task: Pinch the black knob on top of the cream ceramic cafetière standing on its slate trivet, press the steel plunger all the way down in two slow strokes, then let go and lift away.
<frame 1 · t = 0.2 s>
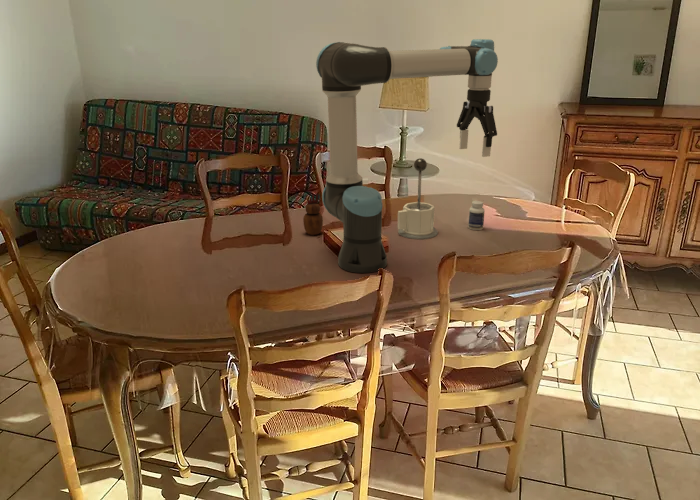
hand: (474, 152, 203), 28 cm above the table, fingers open, 13 cm apart
white faceted cup: (417, 232, 210), on the table
wooden figurine: (313, 234, 210), on the table
plunger: (419, 184, 204), point 17 cm above the table, slide at 0.0 cm
pill bottle: (475, 228, 214), on the table
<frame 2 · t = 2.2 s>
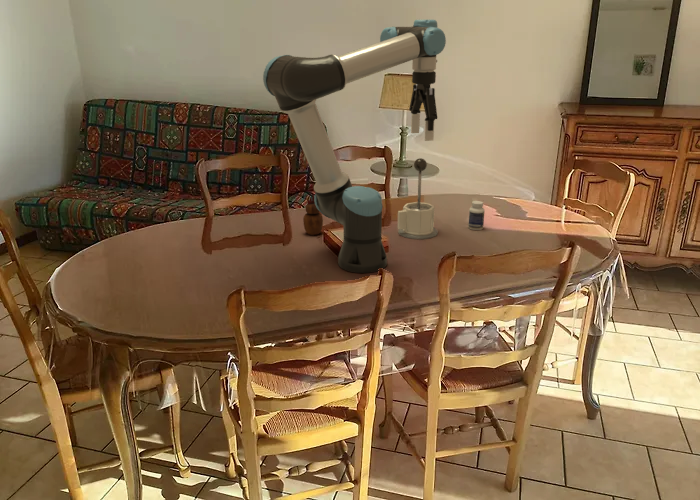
hand: (421, 136, 198), 34 cm above the table, fingers open, 13 cm apart
nothing on the table moved.
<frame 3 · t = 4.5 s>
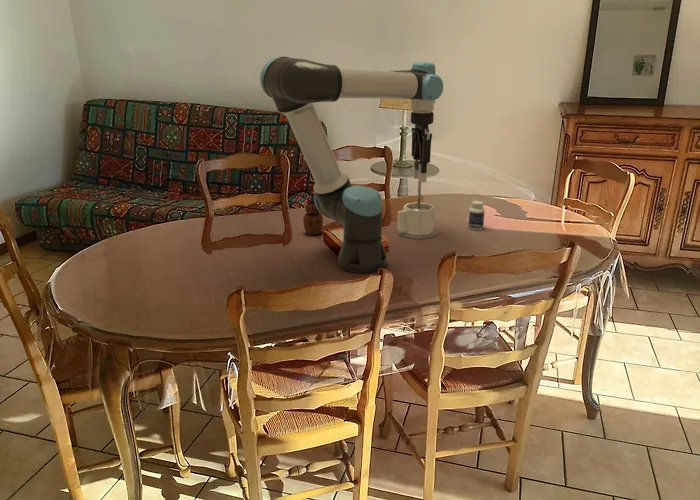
hand: (419, 180, 203), 19 cm above the table, fingers closed on plunger, 4 cm apart
plunger: (419, 184, 204), point 17 cm above the table, slide at 0.0 cm, touching gripper
everything else where it was.
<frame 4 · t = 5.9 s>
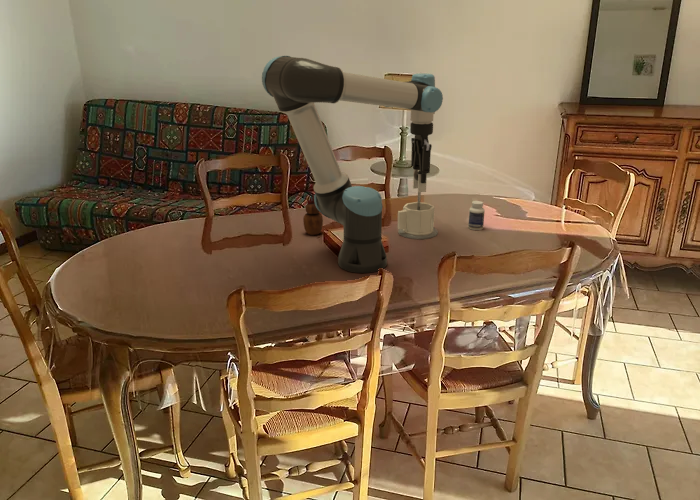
hand: (419, 189, 205), 16 cm above the table, fingers closed on plunger, 4 cm apart
plunger: (419, 194, 205), point 14 cm above the table, slide at 3.5 cm, touching gripper
everything else where it was.
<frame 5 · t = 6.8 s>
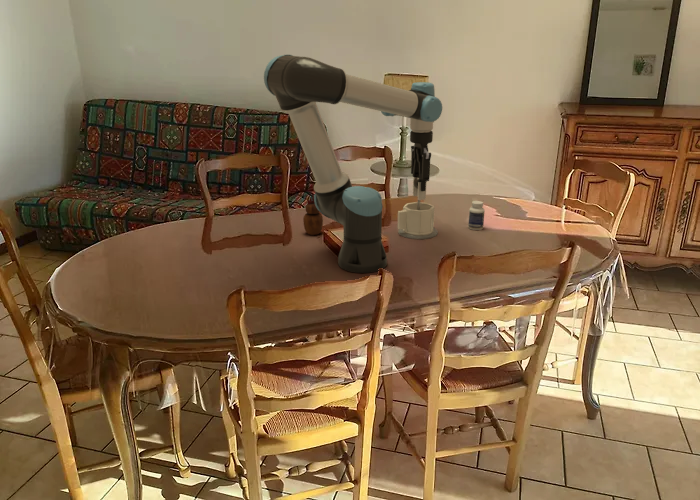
hand: (419, 197, 206), 13 cm above the table, fingers closed on plunger, 4 cm apart
plunger: (418, 202, 206), point 11 cm above the table, slide at 6.3 cm, touching gripper
everything else where it was.
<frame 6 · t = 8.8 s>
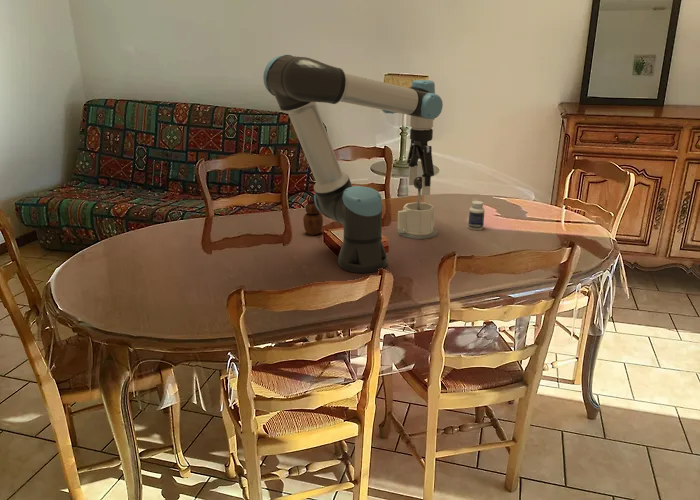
hand: (418, 189, 205), 16 cm above the table, fingers open, 13 cm apart
plunger: (418, 202, 206), point 11 cm above the table, slide at 6.3 cm
everything else where it was.
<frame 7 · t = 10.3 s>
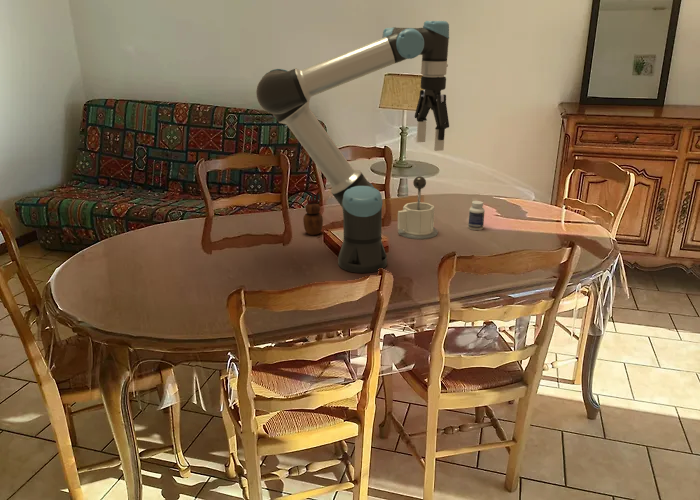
hand: (429, 146, 185), 34 cm above the table, fingers open, 13 cm apart
nothing on the table moved.
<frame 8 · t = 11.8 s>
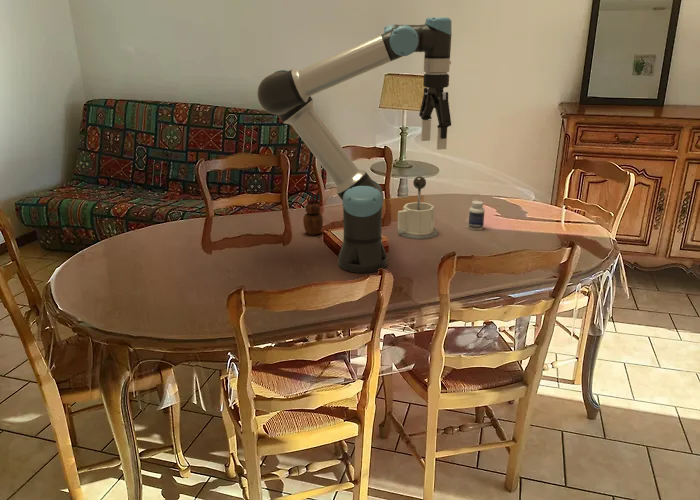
hand: (433, 144, 182), 35 cm above the table, fingers open, 13 cm apart
nothing on the table moved.
at the end: plunger slide at 6.3 cm; the gripper is holding nothing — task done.
